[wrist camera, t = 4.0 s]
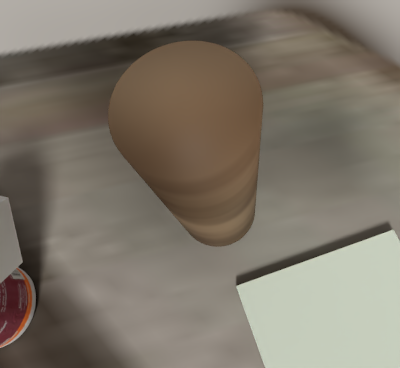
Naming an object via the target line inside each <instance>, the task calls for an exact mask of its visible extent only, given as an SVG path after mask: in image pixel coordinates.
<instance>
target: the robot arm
mask: <svg viewBox="0 0 400 368" xmlns="http://www.w3.org/2000/svg"><path fill="white" fill-rule="evenodd" d="M22 262H23V261H22V256H21V252H20V247H19V243H18V238H17V234H16V229H15V225H14V220H13V216H12V211H11V207H10V202H9V198H8V197H4V196H0V283H1V282H2V281H3V280H4V279H6V278H7V277H8V276H9V275H10V274H11V273H12V272H13V271H14V270H15V269H16V268H17V267H18V266H19V265H20V264H21V263H22Z"/></svg>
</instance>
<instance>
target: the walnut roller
mask: <svg viewBox="0 0 400 368" xmlns="http://www.w3.org/2000/svg"><path fill="white" fill-rule="evenodd" d="M262 113H263V95H262V91H261V86H260V84H259V81H258V79H257V77H256V75H255V73H254V71H253V70H252V69H251V67H250V66H249V65H248V63H246V62H245V61H244V60H243V59H242V58H241V57H240V56H239V55H237V54H236V53H234V52H233V51H231V50H229V49H227V48H225V47H223V46H220V45H218V44H214V43H210V42H205V41H179V42H174V43H170V44H167V45H163V46H161V47H158V48H156V49H154V50H152V51H150V52H148V53H146V54H145V55H143V56H142V57H140V58H139V59H138V60H136V61H135V62H134V63H133V64H132V65H131V66H130V67H129V68H128V69H127V70H126V71H125V72H124V73H123V75H122V76H121V78H120V79H119V81H118V82H117V84H116V86H115V88H114V90H113V93H112V96H111V99H110V103H109V110H108V124H109V129H110V133H111V136H112V139H113V141H114V143H115V145H116V147H117V148H118V150H119V151H120V152H121V154H122V155H123V156H124V158H125V159H126V160H127V161H128V162H129V163H130V165H131V166H132V167H133V168H134V169H135V170H136V172H137V173H138V174H139V175H140V176H141V177H142V179H143V180H144V181H145V182H146V183H147V184H148V186H149V187H150V188H151V189H152V190H153V191H154V193H155V194H156V195H157V196H158V197H159V198H160V200H161V201H162V202H163V203H164V204H165V205H166V207H167V208H168V209H169V210H170V211H171V213H172V214H173V215H174V216H175V217H176V218H177V220H178V221H179V222H180V223H181V224H182V225H183V227H184V228H185V229H186V230H187V231H188V232H189V234H190V235H191V236H192V237H193V238H195V239H196V240H197V241H199V242H201V243H203V244H206V245H209V246H226V245H230V244H232V243H234V242H236V241H238V240H240V239H241V238H242V237H243V236H244V235H245V234H246V233H247V232H248V230H249V229H250V227H251V225H252V223H253V220H254V216H255V203H256V190H257V177H258V164H259V152H260V139H261V126H262Z"/></svg>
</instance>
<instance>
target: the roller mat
mask: <svg viewBox="0 0 400 368" xmlns="http://www.w3.org/2000/svg"><path fill="white" fill-rule="evenodd" d="M236 287H237V290H238V293H239V296H240V299H241V301H242V304H243V307H244V310H245V313H246V315H247V318H248V321H249V324H250V327H251V329H252V332H253V335H254V338H255V341H256V343H257V346H258V349H259V352H260V355H261V357H262V360H263V363H264V366H265V368H400V241H399V239H398V237H397V236H396V234H395V232H394V230H391V231H388V232H385V233H382V234H380V235H377V236H374V237H371V238H369V239H366V240H363V241H360V242H357V243H355V244H352V245H349V246H346V247H343V248H341V249H338V250H335V251H332V252H329V253H327V254H324V255H321V256H318V257H315V258H313V259H310V260H307V261H304V262H302V263H299V264H296V265H293V266H290V267H288V268H285V269H282V270H279V271H276V272H274V273H271V274H268V275H265V276H262V277H260V278H257V279H254V280H251V281H249V282H246V283H243V284H240V285H237V286H236Z"/></svg>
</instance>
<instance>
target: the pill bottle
mask: <svg viewBox="0 0 400 368" xmlns="http://www.w3.org/2000/svg"><path fill="white" fill-rule="evenodd" d="M35 305H36V293H35V288H34V284H33V282H32V280H31V278H30V277H29V275H28V274H27V273H26V272H25V271H23V270H22V269H20V268H19V267H17V268H16V269H15V270H14V271H13V272H12V273H11V274H10V275H9V276H8V277H7V278H6V279H4V280H3V281H2V282H1V283H0V348H1V347H4V346H6V345H8V344H10V343H12V342H13V341H15V340H16V339H17V338H19V337H20V336H21V335H22V334H23V332H24V331H25V330H26V328H27V327H28V325H29V324H30V322H31V320H32V318H33V315H34V311H35Z"/></svg>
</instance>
